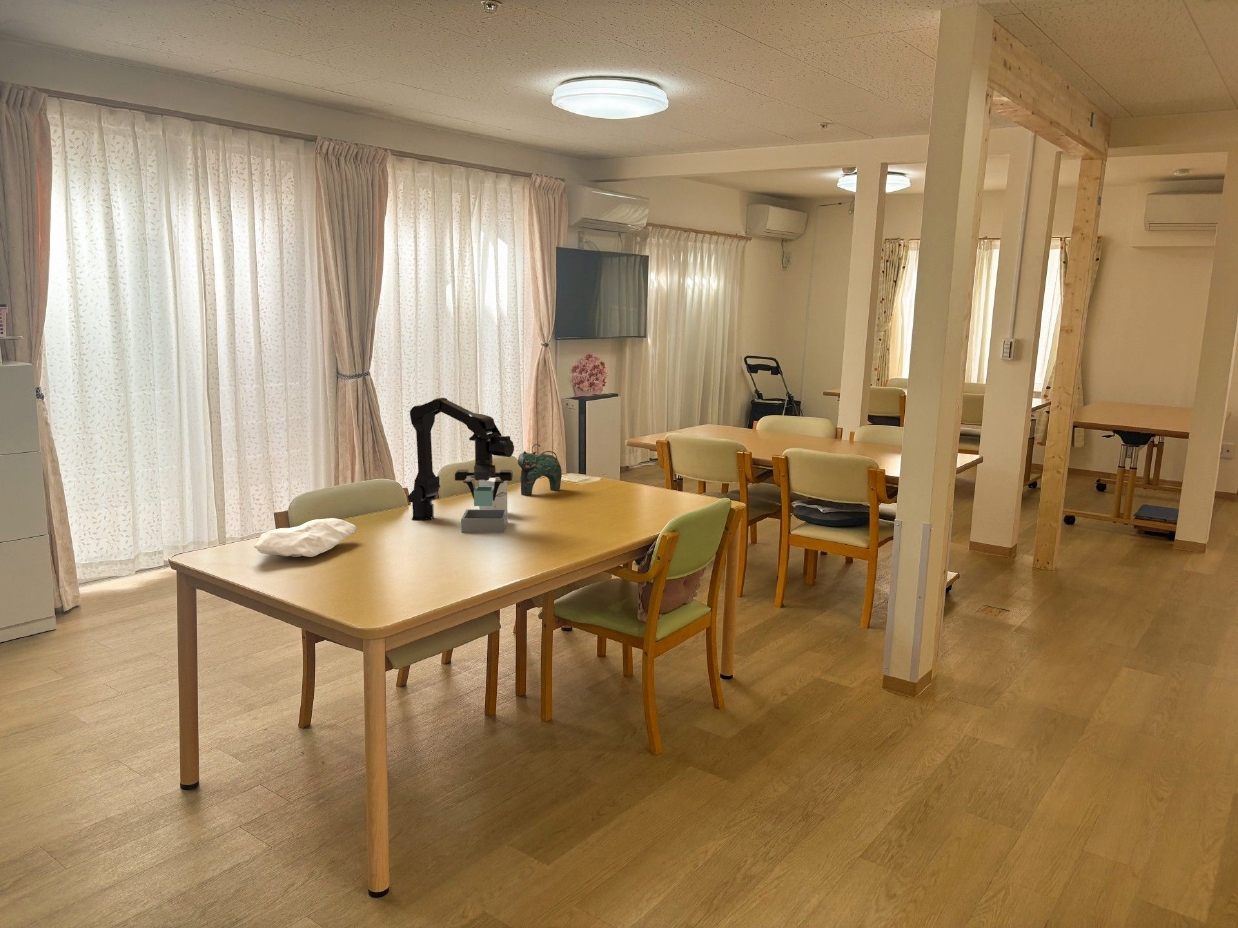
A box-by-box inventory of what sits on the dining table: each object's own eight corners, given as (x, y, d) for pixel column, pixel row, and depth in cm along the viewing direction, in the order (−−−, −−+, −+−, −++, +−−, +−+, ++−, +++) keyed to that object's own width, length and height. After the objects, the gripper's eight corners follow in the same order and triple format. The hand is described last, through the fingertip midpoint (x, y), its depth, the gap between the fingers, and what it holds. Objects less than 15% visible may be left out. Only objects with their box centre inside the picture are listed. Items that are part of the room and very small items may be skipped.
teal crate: (474, 506, 291) (473, 491, 290) (476, 500, 298) (476, 486, 298) (492, 506, 291) (492, 491, 290) (494, 500, 299) (494, 486, 298)
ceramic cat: (524, 497, 343) (523, 446, 340) (514, 494, 348) (514, 444, 344) (564, 490, 356) (564, 441, 353) (554, 488, 361) (554, 440, 357)
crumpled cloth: (225, 554, 255) (225, 525, 253) (320, 528, 285) (322, 502, 283) (279, 579, 245) (281, 549, 242) (373, 549, 274) (375, 522, 272)
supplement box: (493, 516, 311) (493, 481, 309) (478, 513, 315) (478, 479, 313) (508, 513, 317) (507, 478, 314) (493, 510, 321) (493, 476, 319)
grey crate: (461, 532, 289) (461, 519, 288) (466, 522, 303) (466, 509, 302) (504, 532, 290) (504, 519, 289) (507, 522, 303) (507, 509, 303)
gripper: (452, 458, 283) (452, 505, 286) (510, 458, 284) (510, 505, 287) (456, 452, 294) (457, 498, 297) (512, 453, 295) (513, 498, 298)
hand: (484, 500), depth 295 cm, fingers closed on teal crate, 6 cm apart
